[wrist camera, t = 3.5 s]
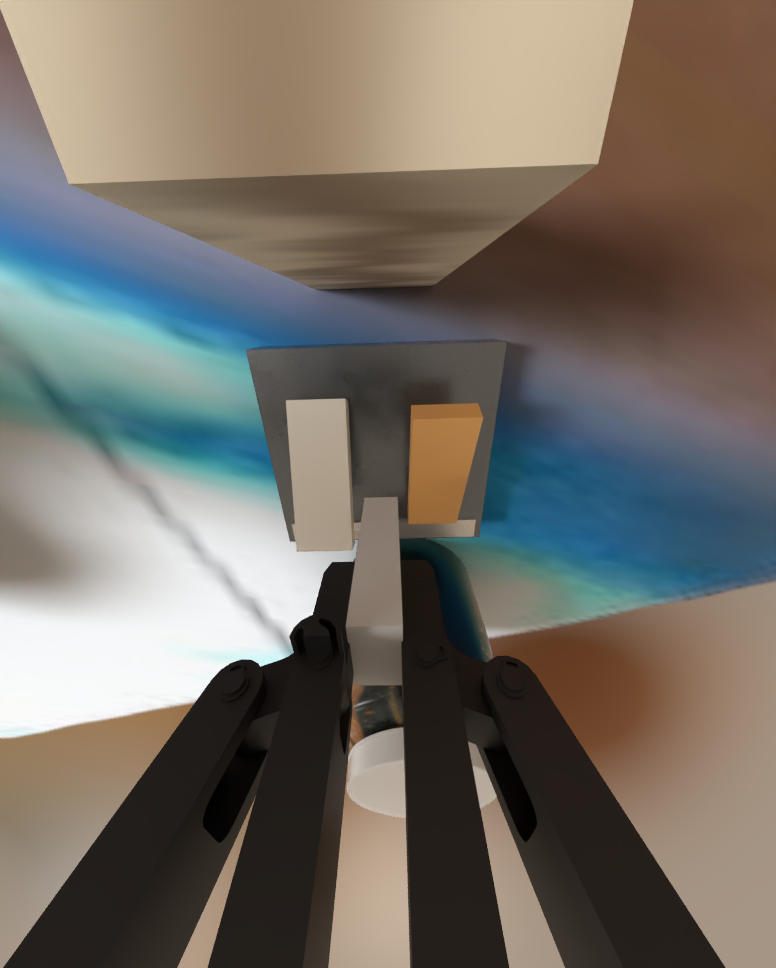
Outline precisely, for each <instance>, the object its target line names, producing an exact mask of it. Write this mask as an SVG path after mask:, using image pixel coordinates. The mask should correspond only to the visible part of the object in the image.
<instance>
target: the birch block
mask: <svg viewBox="0 0 776 968" xmlns="http://www.w3.org/2000/svg"><path fill="white" fill-rule="evenodd" d="M633 1H634V0H0V9H1V11H2V14H3V17H4V19H5V22H6V24H7V27H8V29H9V32H10V34H11V37H12V39H13V42H14V45H15V47H16V50H17V52H18V55H19V57H20V60H21V62H22V65H23V68H24V70H25V73H26V75H27V78H28V80H29V83H30V85H31V88H32V91H33V93H34V96H35V98H36V101H37V103H38V106H39V108H40V111H41V113H42V116H43V119H44V121H45V124H46V126H47V129H48V131H49V134H50V136H51V139H52V142H53V144H54V147H55V149H56V152H57V154H58V157H59V159H60V162H61V165H62V167H63V170H64V172H65V175H66V177H67V180H68V182H69V184H70V185H73V186H75V187H77V188H80V189H82V190H84V191H87V192H89V193H91V194H94V195H96V196H98V197H101V198H103V199H105V200H108V201H110V202H112V203H115V204H117V205H119V206H122V207H124V208H127V209H129V210H131V211H134V212H136V213H138V214H141V215H143V216H145V217H148V218H150V219H152V220H155V221H157V222H159V223H162V224H164V225H166V226H169V227H171V228H173V229H176V230H178V231H180V232H183V233H185V234H187V235H190V236H192V237H194V238H197V239H199V240H201V241H204V242H206V243H208V244H211V245H213V246H215V247H218V248H220V249H222V250H225V251H227V252H229V253H232V254H234V255H236V256H239V257H241V258H243V259H246V260H248V261H250V262H253V263H255V264H257V265H260V266H262V267H264V268H267V269H269V270H271V271H274V272H276V273H278V274H281V275H283V276H286V277H288V278H290V279H293V280H295V281H297V282H300V283H302V284H304V285H307V286H309V287H311V288H314V289H316V290H321V289H351V288H381V287H410V286H434V285H435V284H437V283H438V282H439V281H441V280H442V279H443V278H445V277H446V276H447V275H449V274H450V273H451V272H453V271H454V270H455V269H457V268H458V267H459V266H461V265H462V264H464V263H465V262H466V261H468V260H469V259H470V258H472V257H473V256H474V255H476V254H477V253H478V252H480V251H481V250H482V249H484V248H485V247H486V246H488V245H489V244H490V243H492V242H493V241H495V240H496V239H497V238H499V237H500V236H501V235H503V234H504V233H505V232H507V231H508V230H509V229H511V228H512V227H513V226H515V225H516V224H517V223H519V222H520V221H522V220H523V219H524V218H526V217H527V216H528V215H530V214H531V213H532V212H534V211H535V210H536V209H538V208H539V207H540V206H542V205H543V204H544V203H546V202H547V201H549V200H550V199H551V198H553V197H554V196H555V195H557V194H558V193H559V192H561V191H562V190H563V189H565V188H566V187H567V186H569V185H570V184H571V183H573V182H574V181H575V180H577V179H578V178H580V177H581V176H582V175H584V174H585V173H586V172H588V171H589V170H590V169H592V168H593V167H594V166H596V165H597V164H598V161H599V157H600V152H601V148H602V143H603V138H604V134H605V129H606V125H607V120H608V115H609V111H610V106H611V102H612V97H613V93H614V88H615V83H616V79H617V74H618V70H619V65H620V60H621V56H622V51H623V47H624V42H625V38H626V33H627V28H628V24H629V19H630V15H631V10H632V5H633Z"/></svg>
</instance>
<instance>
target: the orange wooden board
mask: <svg viewBox="0 0 776 968" xmlns="http://www.w3.org/2000/svg"><path fill="white" fill-rule="evenodd" d="M482 421H483V415H482V413H481V410H480V407H479V404H478V403H469V404H435V405H411V424H410V452H409V479H408V506H407V513H408V524H445V523H457V520H458V516H459V512H460V508H461V504H462V500H463V496H464V492H465V488H466V484H467V480H468V476H469V472H470V468H471V464H472V460H473V456H474V452H475V448H476V444H477V440H478V436H479V432H480V429H481V425H482Z"/></svg>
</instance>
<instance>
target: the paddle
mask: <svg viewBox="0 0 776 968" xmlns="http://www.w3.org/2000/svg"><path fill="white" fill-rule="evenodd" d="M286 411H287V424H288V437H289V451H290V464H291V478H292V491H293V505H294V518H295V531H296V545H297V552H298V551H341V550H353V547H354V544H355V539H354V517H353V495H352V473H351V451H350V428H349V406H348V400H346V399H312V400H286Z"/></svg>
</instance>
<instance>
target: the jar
mask: <svg viewBox="0 0 776 968" xmlns="http://www.w3.org/2000/svg"><path fill="white" fill-rule="evenodd" d="M399 544H400V560H427V561H428V563H429V564H430V565H431V567H432V568H433V569H434V574H435V579H436V585H437V591H438V596H439V602H440V608H441V614H442V619H443V625H444V631H445V634H446V637H447V639H448V640H449V642H450V644H451V645H452V646H453V647H454V648H455V649H456V650H458V651H459V652H461V653H462V654H464V655H466V656H469V657H471V658H474V659H478V660H481V661H484V662H487V663H488V662H489V660H491V659H493V658H494V656H493V653H492V649H491V646H490V643H489V640H488V636H487V633H486V630H485V627H484V624H483V620H482V617H481V614H480V611H479V608H478V605H477V602H476V598H475V595H474V592H473V589H472V586H471V583H470V580H469V577H468V574H467V571H466V569H465V567H464V565H463V564H462V562H461V561H460V559H459V558H458V557H457V556H456V555H455V554H454V553H452V552H451V551H450V550H448V549H447V548H445V547H443V546H441V545H439V544H437V543H434V542H431V541H428V540H423V539H417V538H413V539H399ZM355 559H356V558H355ZM353 562H355V560H354V561H353ZM352 706H353V710H352V721H351V731H350V742H349V752H348V763H347V764H348V765H349V767H348V779H347V793H348V795H349V797H350V798H351V799H352V800H353V801H354V802H355V803H356V804H358V805H360V806H361V807H363V808H366V809H367V810H370V811H373V812H376V813H379V814H383V815H388V816H394V817H400V818H406V805H405V771H404V736H403V696H402V685H357V686H354V681H353V686H352ZM468 744H469V750H470V755H471V761H472V766H473V772H474V777H475V783H476V788H477V794H478V799H479V805H480V808H482V807H484V806H486V805H488V804H489V803H491V802H492V801H493V800H494V799H495V798H496V797H497V796H496V793H495V791H494V788H493V786H492V783H491V781H490V778H489V776H488V773H487V771H486V768H485V766H484V763H483V761H482V758H481V756H480V753H479V751H478V748H477V746H476V745H475V744H473V743H470V742H468Z"/></svg>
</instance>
